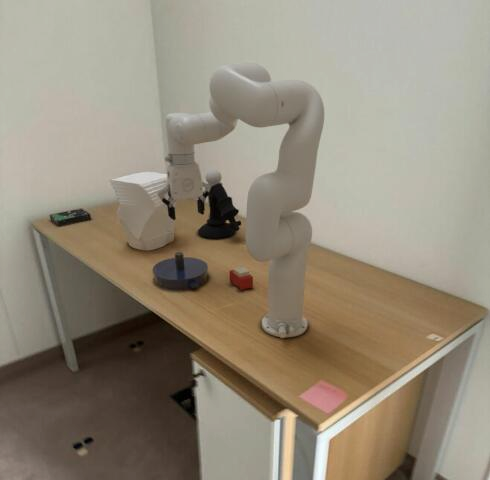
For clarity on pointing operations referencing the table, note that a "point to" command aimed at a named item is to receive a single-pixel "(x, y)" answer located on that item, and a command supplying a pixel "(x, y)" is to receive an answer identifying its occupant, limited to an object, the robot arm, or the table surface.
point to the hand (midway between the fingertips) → (187, 216)
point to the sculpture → (219, 211)
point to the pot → (181, 283)
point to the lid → (180, 268)
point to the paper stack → (144, 210)
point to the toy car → (241, 278)
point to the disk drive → (70, 217)
